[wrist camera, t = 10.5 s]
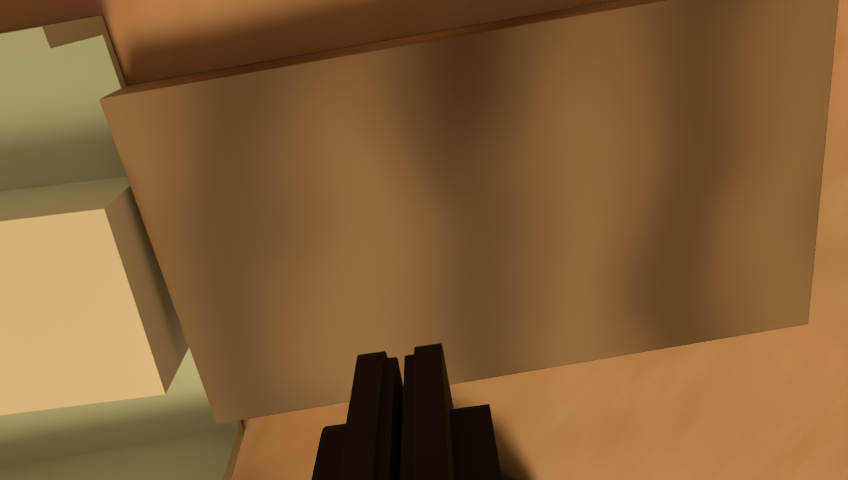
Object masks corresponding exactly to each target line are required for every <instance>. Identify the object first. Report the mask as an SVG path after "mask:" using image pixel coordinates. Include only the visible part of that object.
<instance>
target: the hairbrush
mask: <svg viewBox="0 0 848 480" xmlns="http://www.w3.org/2000/svg"><path fill="white" fill-rule="evenodd" d="M500 473H501V480H513V479H512V478H510V477H509V476H507V475H506V474H504V473H503V472H501V471H500Z"/></svg>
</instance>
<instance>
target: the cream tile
mask: <svg viewBox="0 0 848 480" xmlns="http://www.w3.org/2000/svg"><path fill="white" fill-rule="evenodd" d="M188 348H189V346H188V343H187V340H186V337H185V335H184V332H183V329H182V326H181V324H180V321H179V318H178V315H177V313H176V310H175V307H174V304H173V302H172V299H171V296H170V293H169V291H168V288H167V285H166V282H165V280H164V277H163V274H162V271H161V269H160V266H159V263H158V260H157V258H156V255H155V252H154V249H153V247H152V244H151V241H150V238H149V236H148V233H147V230H146V227H145V225H144V222H143V219H142V216H141V214H140V211H139V208H138V205H137V203H136V200H135V197H134V194H133V192H132V189H131V186H130V183H129V181H128V178H127V176H124V177H116V178H108V179H100V180H92V181H84V182H75V183H67V184H59V185H51V186H43V187H35V188H26V189H18V190H10V191H2V192H0V415H7V414H15V413H23V412H30V411H38V410H46V409H54V408H62V407H70V406H78V405H86V404H94V403H102V402H109V401H117V400H125V399H133V398H141V397H149V396H157V395H165V394H166V392H167V390H168V388H169V386H170V384H171V382H172V380H173V378H174V376H175V374H176V372H177V370H178V368H179V366H180V364H181V362H182V360H183V358H184V356H185V354H186V352H187V350H188Z"/></svg>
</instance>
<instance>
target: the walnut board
mask: <svg viewBox="0 0 848 480" xmlns="http://www.w3.org/2000/svg"><path fill="white" fill-rule="evenodd" d="M838 4H839V0H617V1H611V2H605V3H600V4H594V5H588V6H582V7H577V8H571V9H565V10H559V11H554V12H548V13H542V14H536V15H531V16H525V17H519V18H513V19H508V20H502V21H496V22H490V23H485V24H479V25H473V26H467V27H462V28H456V29H450V30H444V31H439V32H433V33H427V34H421V35H416V36H410V37H404V38H398V39H393V40H387V41H381V42H375V43H370V44H364V45H358V46H352V47H347V48H341V49H335V50H329V51H324V52H318V53H312V54H306V55H301V56H295V57H289V58H283V59H278V60H272V61H266V62H260V63H255V64H249V65H243V66H237V67H232V68H226V69H220V70H214V71H209V72H203V73H197V74H191V75H186V76H180V77H174V78H168V79H163V80H157V81H151V82H145V83H140V84H134V85H128V86H125V87H123V88H121V89H119V90H117V91H114V92H112V93H110V94H108V95H106V96H104V97H102V98H100V99H99V101H100V104H101V106H102V109H103V112H104V115H105V117H106V120H107V123H108V126H109V128H110V131H111V134H112V137H113V139H114V142H115V145H116V148H117V150H118V153H119V156H120V159H121V161H122V164H123V167H124V170H125V172H126V175H127V178H128V181H129V183H130V186H131V189H132V192H133V194H134V197H135V200H136V203H137V205H138V208H139V211H140V214H141V216H142V219H143V222H144V225H145V227H146V230H147V233H148V236H149V238H150V241H151V244H152V247H153V249H154V252H155V255H156V258H157V260H158V263H159V266H160V269H161V271H162V274H163V277H164V280H165V282H166V285H167V288H168V291H169V293H170V296H171V299H172V302H173V304H174V307H175V310H176V313H177V315H178V318H179V321H180V324H181V326H182V329H183V332H184V335H185V337H186V340H187V343H188V346H189V348H190V351H191V354H192V357H193V359H194V362H195V365H196V368H197V370H198V373H199V376H200V379H201V381H202V384H203V387H204V390H205V392H206V395H207V398H208V401H209V403H210V406H211V409H212V412H213V414H214V417H215V420H216V423H217V424H221V423H226V422H232V421H238V420H244V419H250V418H256V417H262V416H268V415H274V414H280V413H286V412H291V411H297V410H303V409H309V408H315V407H321V406H327V405H333V404H339V403H345V402H350V397H351V391H352V385H353V378H354V372H355V366H356V360H357V356H358V355H360V354H367V353H375V352H382V351H385V352H386V353H387V356H388V358H391V357H397V359H398V362H399V367H400V372H401V376H402V381H403V383H404V358H405V356H406V355H413V354H414V347H417V346H424V345H431V344H438V343H442V346H443V351H444V357H445V363H446V368H447V374H448V380H449V385H451V384H457V383H463V382H469V381H475V380H480V379H486V378H492V377H498V376H504V375H510V374H516V373H522V372H528V371H534V370H539V369H545V368H551V367H557V366H563V365H569V364H575V363H581V362H587V361H593V360H599V359H604V358H610V357H616V356H622V355H628V354H634V353H640V352H646V351H652V350H658V349H664V348H669V347H675V346H681V345H687V344H693V343H699V342H705V341H711V340H717V339H723V338H728V337H734V336H740V335H746V334H752V333H758V332H764V331H770V330H776V329H782V328H788V327H793V326H799V325H805V324H808V320H809V309H810V299H811V288H812V278H813V267H814V256H815V246H816V235H817V225H818V214H819V204H820V193H821V183H822V172H823V162H824V151H825V141H826V130H827V120H828V109H829V98H830V88H831V77H832V67H833V56H834V46H835V35H836V25H837V14H838Z"/></svg>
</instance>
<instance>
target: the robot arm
mask: <svg viewBox="0 0 848 480" xmlns="http://www.w3.org/2000/svg"><path fill="white" fill-rule="evenodd" d="M312 480H501V473H500V467H499V461H498V455H497V449H496V442H495V436H494V430H493V424H492V418H491V412H490V406H489V404H487V405H480V406H473V407H465V408H458V409H453V403H452V397H451V391H450V386H449V380H448V374H447V368H446V363H445V357H444V351H443V346H442V343H438V344H431V345H424V346H417V347H414V354H413V355H406V356H405V358H404V383H403V381H402V376H401V372H400V367H399V362H398V359H397V357H391V358H388V356H387V353H386V352H385V351H382V352H375V353H367V354H360V355H358V356H357V360H356V366H355V372H354V378H353V385H352V391H351V397H350V403H349V409H348V416H347V422H346V424H340V425H333V426H325V427H324V428H323V431H322V434H321V438H320V443H319V447H318V452H317V457H316V461H315V466H314V471H313V476H312Z"/></svg>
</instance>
